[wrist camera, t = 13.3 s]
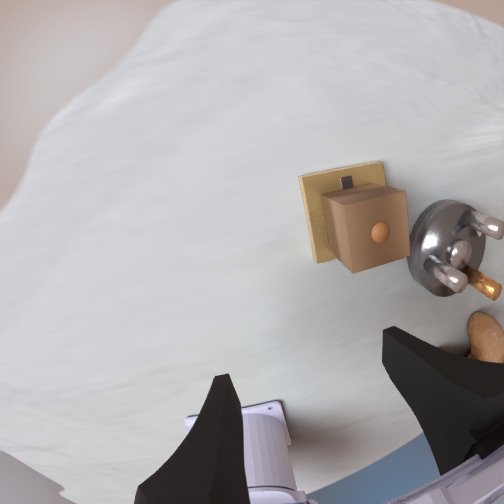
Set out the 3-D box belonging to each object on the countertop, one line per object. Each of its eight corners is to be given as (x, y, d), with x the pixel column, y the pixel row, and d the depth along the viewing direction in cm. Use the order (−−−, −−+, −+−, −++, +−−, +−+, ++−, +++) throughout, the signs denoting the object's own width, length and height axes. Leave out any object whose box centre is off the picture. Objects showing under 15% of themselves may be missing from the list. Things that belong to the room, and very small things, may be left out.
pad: (313, 258, 22) (318, 264, 21) (298, 176, 20) (302, 177, 19) (385, 239, 22) (392, 243, 21) (375, 161, 20) (383, 162, 19)
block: (330, 251, 20) (353, 274, 16) (320, 194, 19) (344, 205, 15) (380, 237, 20) (410, 256, 16) (374, 183, 19) (406, 191, 15)
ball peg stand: (431, 303, 24) (469, 335, 18) (391, 248, 22) (435, 277, 16) (481, 242, 23) (523, 263, 17) (448, 180, 21) (499, 191, 15)
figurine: (482, 294, 25) (568, 378, 13) (479, 326, 30) (545, 396, 18) (414, 364, 26) (495, 465, 14) (423, 383, 31) (485, 462, 19)
